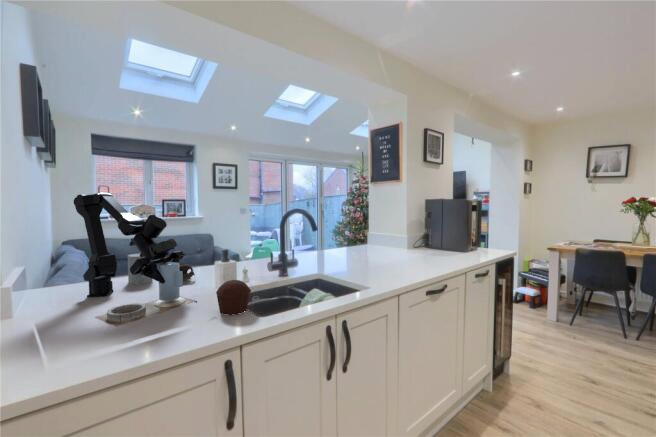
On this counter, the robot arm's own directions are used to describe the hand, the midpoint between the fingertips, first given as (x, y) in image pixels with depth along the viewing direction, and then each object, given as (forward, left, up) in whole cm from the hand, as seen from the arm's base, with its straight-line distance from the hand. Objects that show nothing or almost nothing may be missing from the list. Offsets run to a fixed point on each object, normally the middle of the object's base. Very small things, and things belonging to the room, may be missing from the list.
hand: (172, 280), depth 106 cm
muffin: (+21, -9, -9) cm, 25 cm away
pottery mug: (-5, +35, -9) cm, 37 cm away
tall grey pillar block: (-23, +37, -9) cm, 45 cm away
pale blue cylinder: (0, 0, -6) cm, 6 cm away
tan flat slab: (-6, -4, -9) cm, 12 cm away
